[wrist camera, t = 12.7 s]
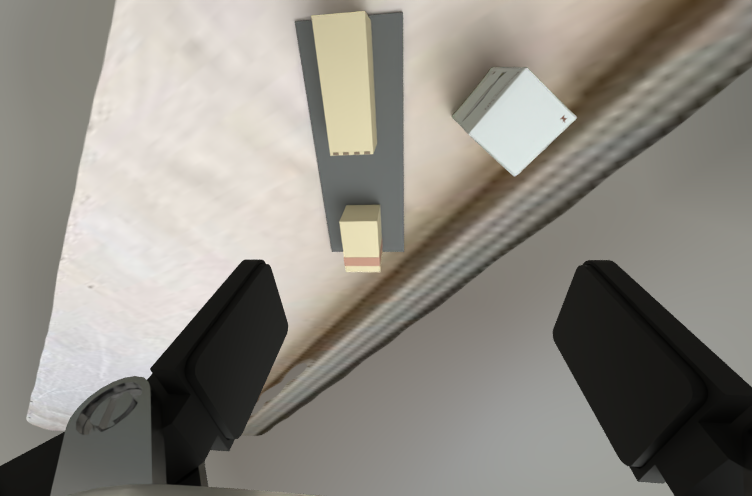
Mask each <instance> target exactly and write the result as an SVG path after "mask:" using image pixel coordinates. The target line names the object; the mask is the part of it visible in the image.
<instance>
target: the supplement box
mask: <svg viewBox="0 0 752 496" xmlns="http://www.w3.org/2000/svg"><path fill="white" fill-rule="evenodd" d="M452 118H453V119H454V120H455V121H456V122H457V123H458V124H459V125H460V126H461V127H462V128H463V129H464V130H465V131H466V132H467V133H468V134H469V135H470V136H471V137H472V138H473V139H474V140H475V141H476V142H477V143H478V144H479V145H480V146H481V147H482V148H483V149H484V150H485V151H487V152H488V153H489V154H490V155H491V156H492V157H493V158H494V159H495V160H496V161H498V162H499V163H500V164H501V165H502V166H503V167H504V168H505V169H506V170H507V171H509V172H510V173H511V174H512V175H513V176H516V175H518V174H519V173H520V172H521V171H522V170H523V169H524V168H525V167H526V166H527V165H528V164H529V163H530V162H531V161H532V160H534V159H535V158H536V157H537V156H538V155H539V154H540V153H541V152H542V151H543V150H544V149H545V148H546V147H547V146H548V145H549V144H550V143H551V142H552V141H553V140H554V139H555V138H556V137H558V136H559V135H560V134H561V133H562V132H563V131H564V130H565V129H566V128H567V127H568V126H569V125H570V124H571V123H572V122H573V121H575V120H576V118H577V117H576V116H575V115H574V114H573V113H572V112H571V111H570V110H569V109H568V108H567V107H566V106H565V105H564V104H563V103H562V102H561V101H560V100H559V99H558V98H557V97H556V96H555V95H554V94H553V93H552V92H551V91H550V90H549V89H548V88H547V87H546V86H545V85H544V84H543V83H542V82H541V81H540V80H539V79H538V78H537V77H536V76H535V75H534V74H533V73H532V72H531V71H530V70H529V69H528V68H527V67H522V68H521V67H492V68H491V69H490V70H489V72H488V73H487V74H486V76H485V77H484V78H483V80H482V81H481V82H480V84H479V85H478V86H477V87H476V89H475V90H474V91H473V92H472V93H471V95H470V96H469V97H468V98H467V99H466V101H465V102H464V103H463V104H462V105H461V107H460V108H459V109H458V110H457V111H456V112H455V114H454V115H453V116H452Z"/></svg>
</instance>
